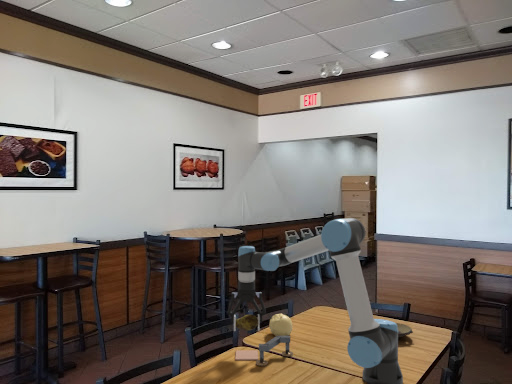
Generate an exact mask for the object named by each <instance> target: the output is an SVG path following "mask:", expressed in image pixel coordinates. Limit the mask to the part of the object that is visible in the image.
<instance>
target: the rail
mask: <svg viewBox="0 0 512 384" xmlns="http://www.w3.org/2000/svg"><path fill="white" fill-rule="evenodd" d="M279 344H285V347H284V348H285V350H283V351H282V352H281V356H283V357H286V358H289V357H290V358H291V357H293V356H294V352H293V351H290V344H291V336H290V335H287V336H274V337H273V338H271V339H270V340H268V341H267V342H265V343H258V352H259V359H258V360H255V365H256V366H258V367H265V366H268V360H266V359H265V355H264V354H265V353H264V352H270V351H271V350H272V349H274V348H275V347H277V346H278V345H279Z"/></svg>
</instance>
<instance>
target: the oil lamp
mask: <svg viewBox="0 0 512 384" xmlns="http://www.w3.org/2000/svg"><path fill="white" fill-rule="evenodd" d="M395 323H396V324H397V326H398V338H401V337H402V338H403V337H405V336H409V335H410V334H413V333H414V332H413V329H412V328H411V326H410V325H406V324H405V323H404V324H403V323H397V322H395Z"/></svg>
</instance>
